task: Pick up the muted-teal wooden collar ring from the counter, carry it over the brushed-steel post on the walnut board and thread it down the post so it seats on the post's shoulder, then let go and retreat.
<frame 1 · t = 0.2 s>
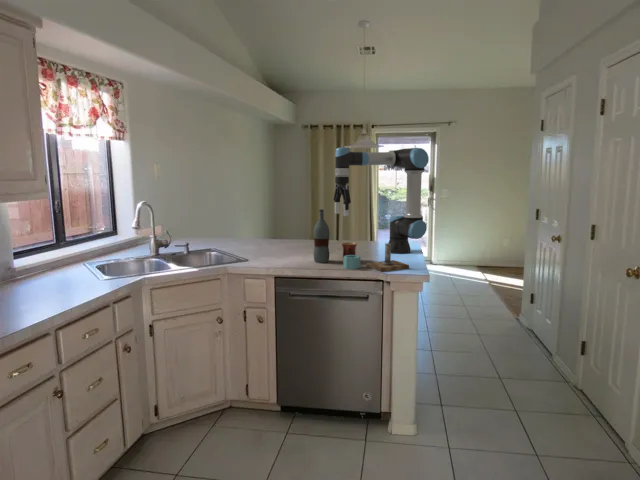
hand: (341, 214, 252), 27 cm above the counter, fingers open, 13 cm apart
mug: (348, 262, 260), on the counter
ring: (351, 267, 245), on the counter
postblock: (387, 267, 244), on the counter
bottle: (321, 262, 260), on the counter
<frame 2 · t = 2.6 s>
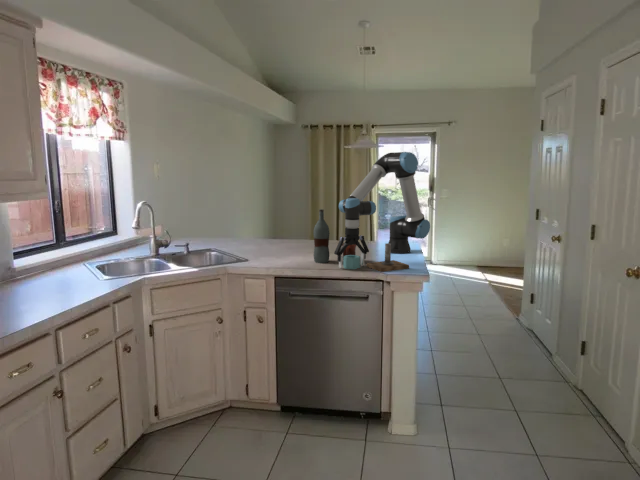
hand: (351, 266, 245), 1 cm above the counter, fingers open, 13 cm apart
nothing on the counter moved.
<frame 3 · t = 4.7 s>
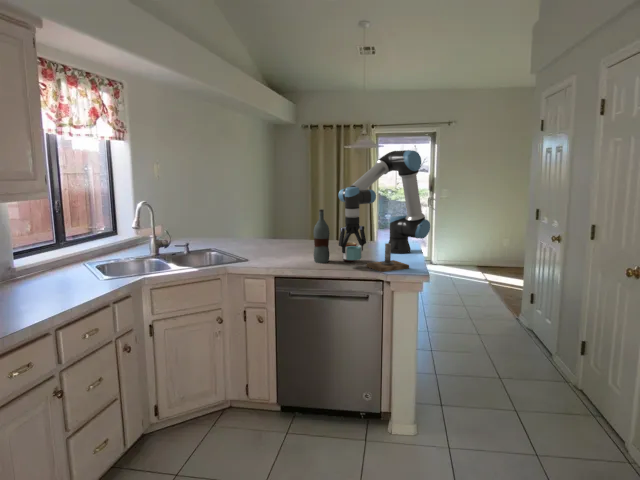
hand: (352, 257, 245), 5 cm above the counter, fingers closed on ring, 8 cm apart
ring: (352, 258, 245), point 5 cm above the counter, touching gripper
everything else where it was.
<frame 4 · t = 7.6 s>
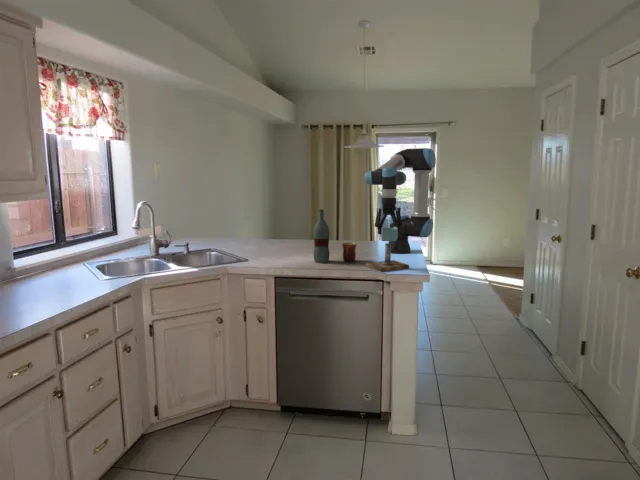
hand: (388, 239, 242), 15 cm above the counter, fingers closed on ring, 8 cm apart
ring: (388, 240, 242), point 15 cm above the counter, touching gripper
everything else where it was.
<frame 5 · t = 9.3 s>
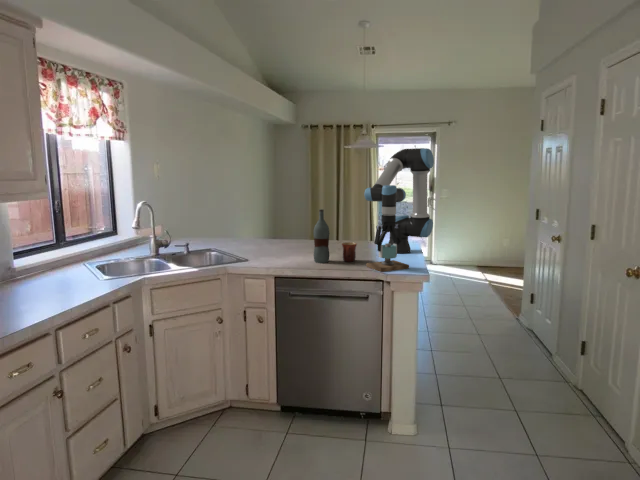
hand: (387, 256, 243), 6 cm above the counter, fingers closed on ring, 8 cm apart
ring: (387, 256, 243), point 6 cm above the counter, touching gripper
everything else where it was.
when the fingers open (4 cm above the counter, at t = 10.8 s): ring drops 1 cm, resting on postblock.
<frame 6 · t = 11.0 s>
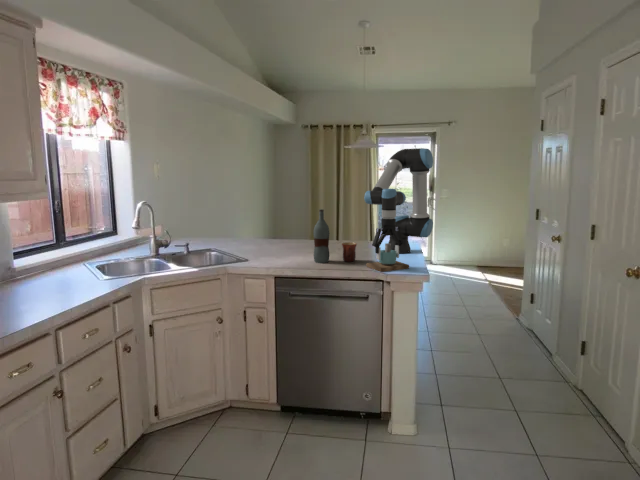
hand: (387, 258, 244), 5 cm above the counter, fingers open, 11 cm apart
ring: (387, 262, 244), point 3 cm above the counter, touching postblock
everything else where it was.
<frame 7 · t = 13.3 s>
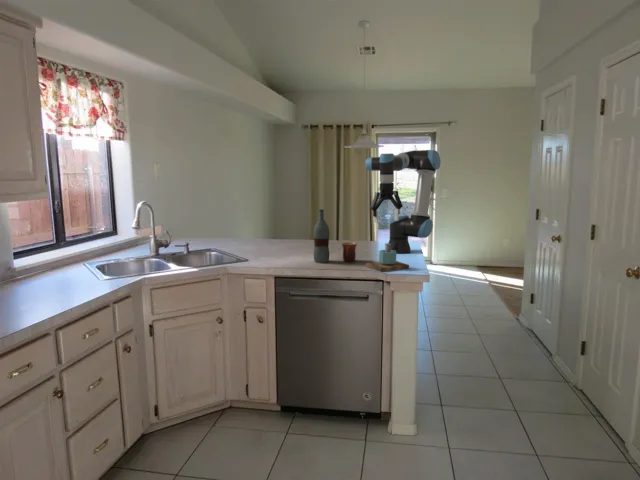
hand: (386, 221, 248), 24 cm above the counter, fingers open, 13 cm apart
nothing on the counter moved.
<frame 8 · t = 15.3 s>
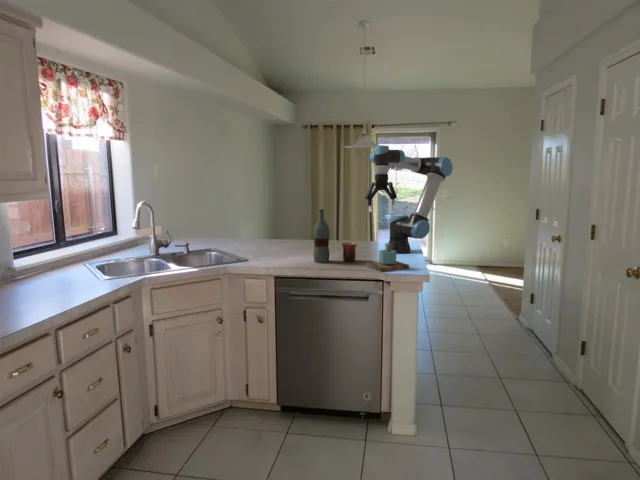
hand: (380, 211, 259), 29 cm above the counter, fingers open, 13 cm apart
nothing on the counter moved.
at the end: ring 0.0 cm from the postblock (horizontally); ring point 3.0 cm above the counter; ring tilted 0° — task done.
